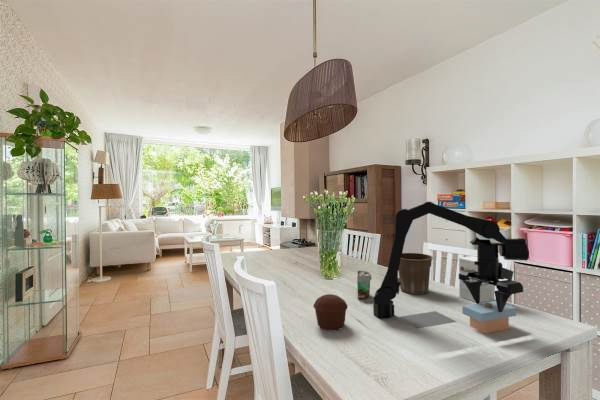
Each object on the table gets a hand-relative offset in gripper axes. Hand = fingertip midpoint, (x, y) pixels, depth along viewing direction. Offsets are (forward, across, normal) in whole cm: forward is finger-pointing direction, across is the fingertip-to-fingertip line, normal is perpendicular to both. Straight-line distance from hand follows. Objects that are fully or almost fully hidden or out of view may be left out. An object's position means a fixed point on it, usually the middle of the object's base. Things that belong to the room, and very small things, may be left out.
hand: (488, 307), depth 97 cm
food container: (+8, +44, +20) cm, 49 cm away
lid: (+2, 0, 0) cm, 2 cm away
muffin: (+8, +21, +46) cm, 51 cm away
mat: (+7, +12, +14) cm, 20 cm away
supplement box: (+8, +25, -22) cm, 34 cm away
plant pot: (+8, +43, -5) cm, 44 cm away
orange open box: (+7, 0, 0) cm, 7 cm away
